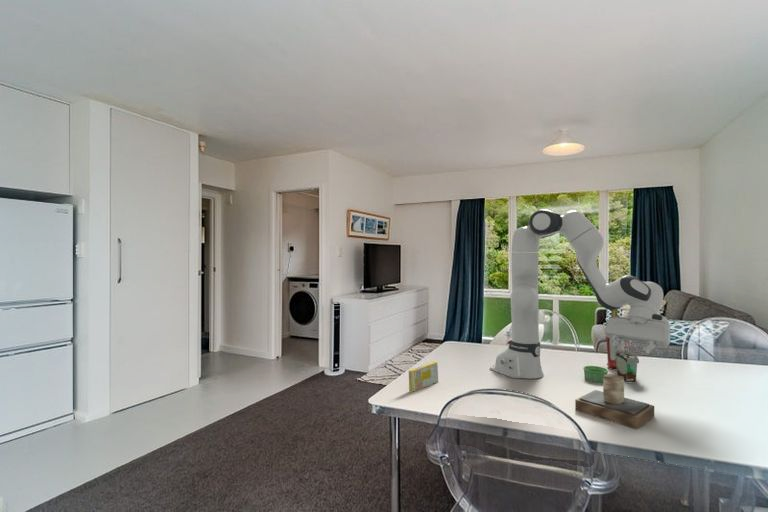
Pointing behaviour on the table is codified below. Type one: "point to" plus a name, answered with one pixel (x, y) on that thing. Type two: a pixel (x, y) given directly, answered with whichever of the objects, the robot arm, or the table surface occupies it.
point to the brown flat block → (615, 409)
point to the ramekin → (595, 373)
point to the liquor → (611, 349)
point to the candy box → (423, 376)
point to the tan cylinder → (613, 388)
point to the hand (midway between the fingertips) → (629, 349)
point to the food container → (626, 366)
